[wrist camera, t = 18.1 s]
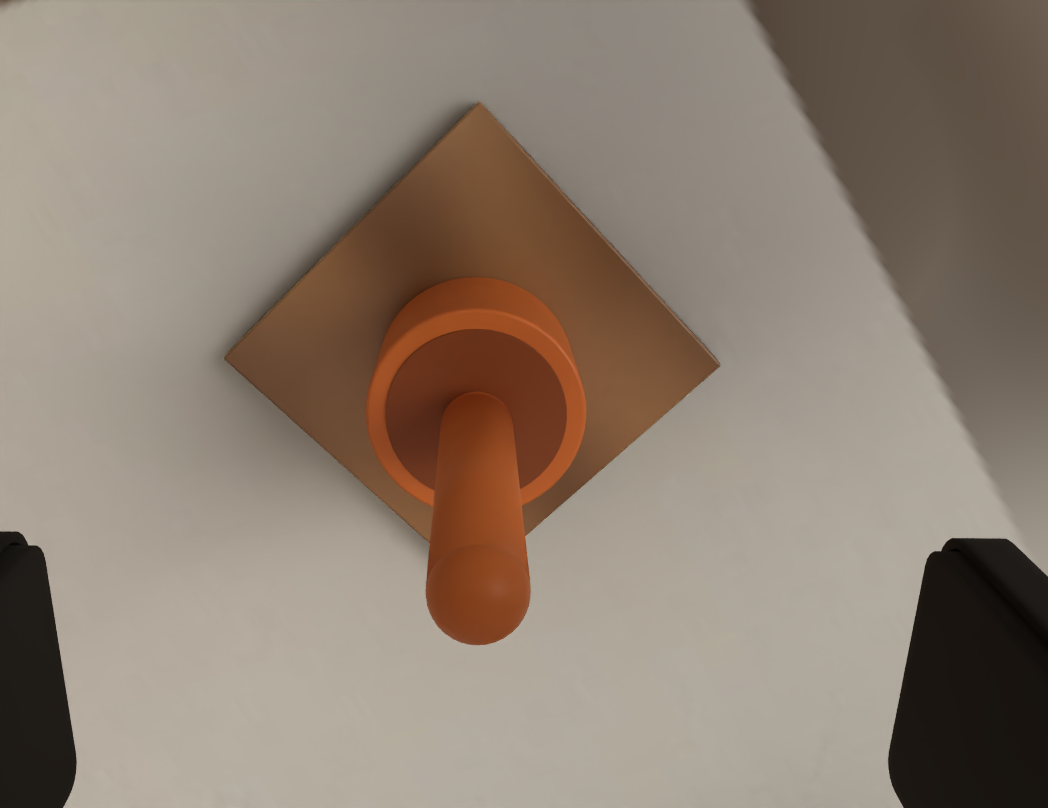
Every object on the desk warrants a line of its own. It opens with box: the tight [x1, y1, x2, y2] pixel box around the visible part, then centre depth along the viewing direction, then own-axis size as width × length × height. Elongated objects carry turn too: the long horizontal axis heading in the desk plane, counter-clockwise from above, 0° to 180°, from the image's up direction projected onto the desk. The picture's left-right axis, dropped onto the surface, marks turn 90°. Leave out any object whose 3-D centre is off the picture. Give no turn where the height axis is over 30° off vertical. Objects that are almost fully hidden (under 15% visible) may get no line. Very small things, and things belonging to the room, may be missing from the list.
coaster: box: [224, 102, 721, 543], centre depth 23 cm, size 8×8×1 cm
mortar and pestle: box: [366, 277, 586, 645], centre depth 18 cm, size 4×4×10 cm
